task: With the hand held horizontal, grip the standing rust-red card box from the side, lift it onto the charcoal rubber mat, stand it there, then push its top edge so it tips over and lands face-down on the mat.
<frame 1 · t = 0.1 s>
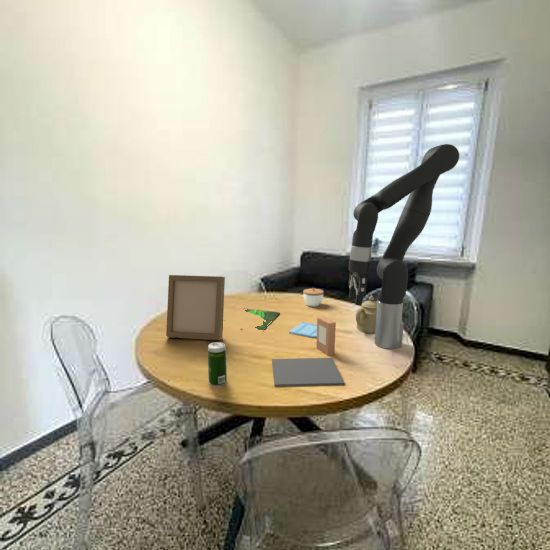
hand: (355, 301, 128), 17 cm above the table, tool pointing down, fingers open, 8 cm apart
waterproof phone case: (308, 331, 147), on the table
beer can: (217, 383, 104), on the table
card box: (325, 351, 126), on the table
mat: (305, 371, 111), on the table
photo frame: (199, 334, 142), on the table
sugar bowl: (369, 330, 147), on the table
lidded jar: (313, 305, 183), on the table
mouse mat: (250, 320, 160), on the table
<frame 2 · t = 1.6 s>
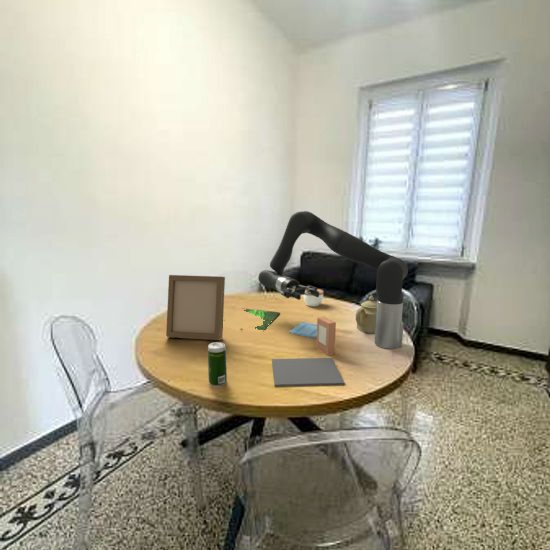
hand: (309, 295, 132), 18 cm above the table, tool horizontal, fingers open, 8 cm apart
nothing on the table moved.
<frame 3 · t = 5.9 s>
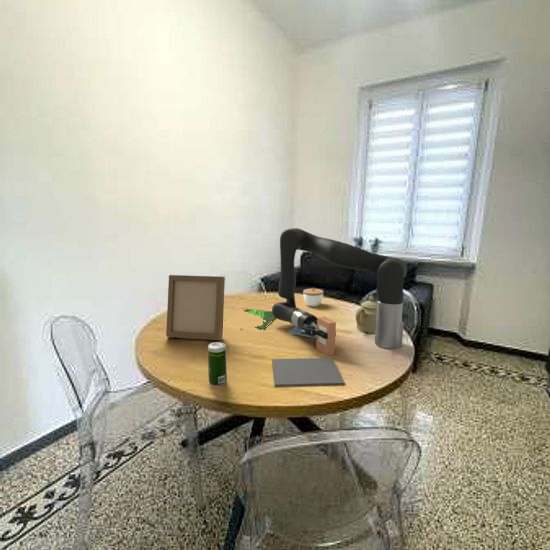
hand: (330, 335, 123), 7 cm above the table, tool horizontal, fingers closed on card box, 3 cm apart
card box: (325, 350, 126), on the table, touching gripper
everything else where it was.
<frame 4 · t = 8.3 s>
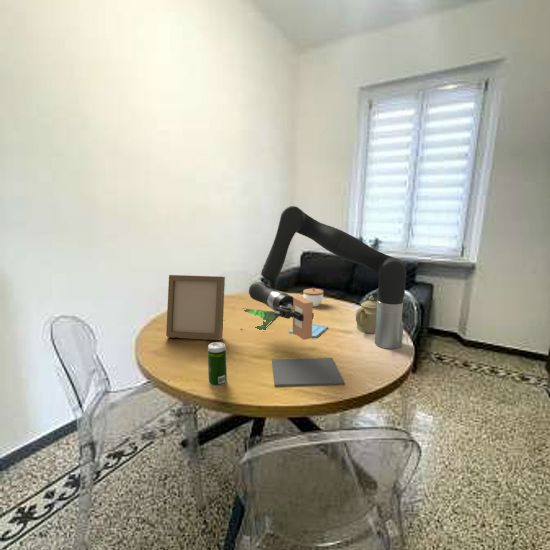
hand: (307, 317, 108), 18 cm above the table, tool horizontal, fingers closed on card box, 3 cm apart
card box: (301, 335, 112), point 11 cm above the table, touching gripper
everything else where it was.
when the fingers open (9 cm above the table, at t = 10.7 s): card box drops 1 cm, resting on mat.
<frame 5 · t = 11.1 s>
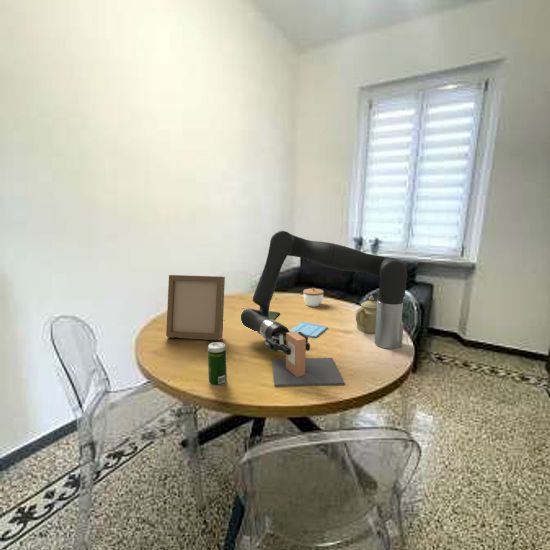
hand: (299, 349, 106), 9 cm above the table, tool horizontal, fingers open, 6 cm apart
card box: (295, 371, 110), point 1 cm above the table, touching mat
everything else where it was.
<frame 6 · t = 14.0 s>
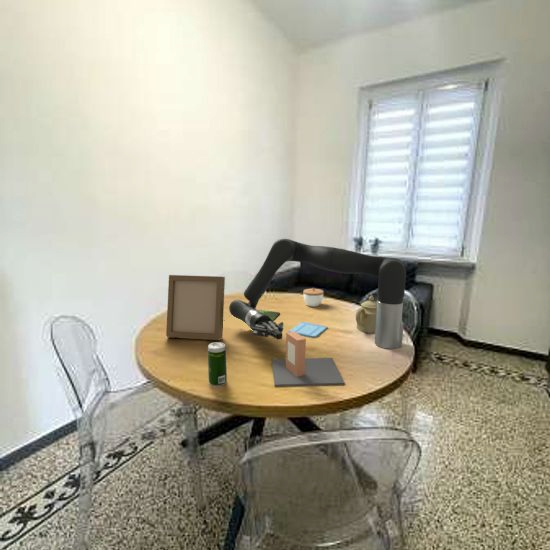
hand: (280, 336, 117), 9 cm above the table, tool horizontal, fingers closed
nothing on the table moved.
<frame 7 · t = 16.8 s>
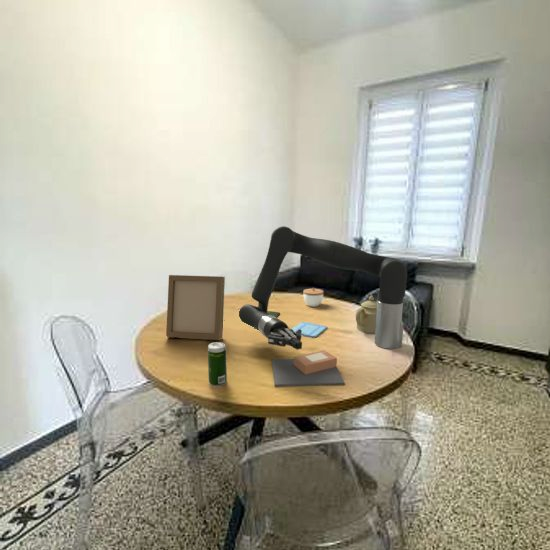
hand: (299, 346, 104), 11 cm above the table, tool horizontal, fingers closed
card box: (299, 365, 110), point 2 cm above the table, tilted 90°, touching mat
everything else where it was.
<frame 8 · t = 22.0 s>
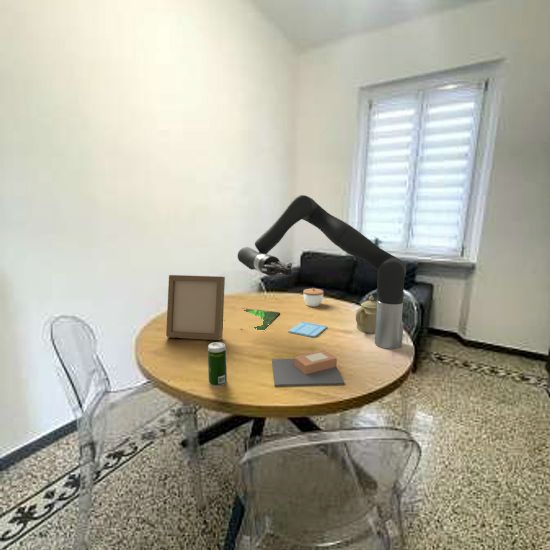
hand: (289, 272, 118), 30 cm above the table, tool horizontal, fingers closed
nothing on the table moved.
at the end: card box tilted 90°; card box point 2.1 cm above the table; card box inside the target area on the mat (1.9 cm from its centre), point 2.1 cm above the mat's base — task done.
